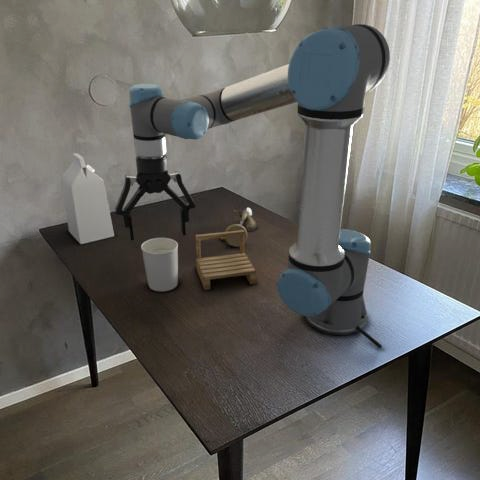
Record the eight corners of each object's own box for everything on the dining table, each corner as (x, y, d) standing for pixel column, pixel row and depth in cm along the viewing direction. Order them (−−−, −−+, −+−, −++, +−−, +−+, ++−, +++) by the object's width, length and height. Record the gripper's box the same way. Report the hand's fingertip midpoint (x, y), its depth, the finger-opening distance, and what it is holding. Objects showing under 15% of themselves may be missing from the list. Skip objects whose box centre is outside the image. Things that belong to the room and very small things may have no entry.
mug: (243, 234, 171) (251, 215, 163) (240, 257, 166) (248, 239, 158) (221, 229, 170) (228, 210, 161) (218, 253, 165) (225, 234, 157)
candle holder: (139, 289, 140) (134, 250, 134) (155, 273, 148) (151, 235, 141) (171, 295, 138) (168, 255, 131) (186, 278, 145) (183, 240, 139)
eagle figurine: (227, 220, 178) (237, 224, 170) (236, 201, 177) (246, 205, 169) (245, 229, 182) (255, 234, 174) (254, 210, 181) (264, 215, 173)
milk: (68, 231, 172) (53, 153, 158) (101, 224, 178) (89, 148, 163) (80, 244, 164) (65, 163, 150) (114, 236, 169) (103, 157, 155)
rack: (255, 283, 143) (256, 248, 137) (204, 290, 140) (203, 254, 134) (243, 262, 154) (244, 229, 148) (196, 268, 151) (194, 234, 145)
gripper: (199, 147, 128) (201, 225, 140) (97, 153, 123) (109, 234, 135) (204, 156, 122) (207, 237, 134) (98, 162, 117) (110, 246, 129)
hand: (158, 235), depth 135 cm, fingers open, 13 cm apart
